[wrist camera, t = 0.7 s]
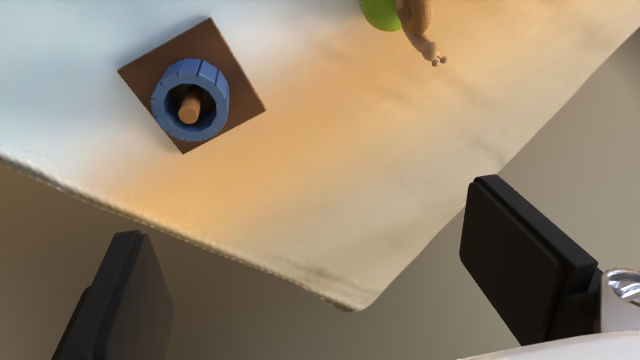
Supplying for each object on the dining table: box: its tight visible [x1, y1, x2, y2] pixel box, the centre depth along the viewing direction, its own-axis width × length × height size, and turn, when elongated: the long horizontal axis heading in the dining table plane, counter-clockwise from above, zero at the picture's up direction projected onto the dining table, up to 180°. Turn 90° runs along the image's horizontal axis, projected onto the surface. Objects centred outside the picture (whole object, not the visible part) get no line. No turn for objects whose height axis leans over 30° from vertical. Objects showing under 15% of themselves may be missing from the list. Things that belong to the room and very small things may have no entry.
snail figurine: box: [361, 0, 448, 67], centre depth 32 cm, size 5×6×12 cm
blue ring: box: [151, 59, 229, 142], centre depth 37 cm, size 6×6×4 cm
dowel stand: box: [117, 18, 266, 154], centre depth 36 cm, size 10×10×7 cm
